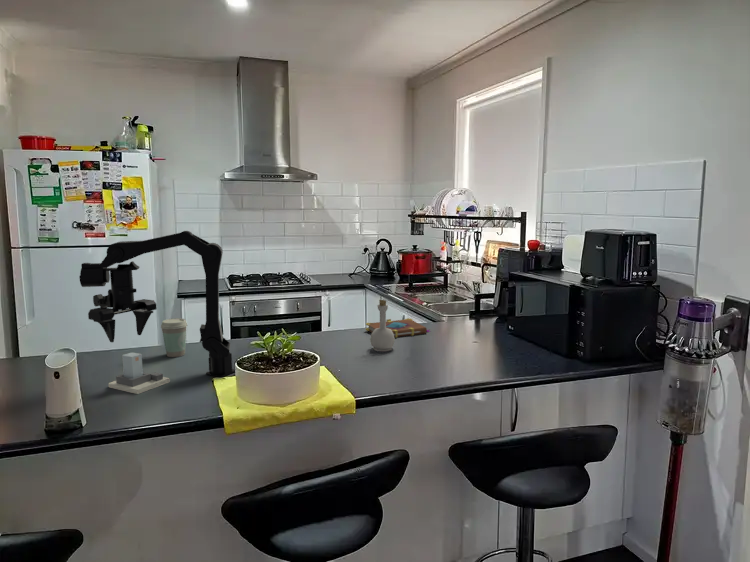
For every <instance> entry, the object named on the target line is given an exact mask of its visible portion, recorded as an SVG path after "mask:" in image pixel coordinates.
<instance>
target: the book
mask: <svg viewBox="0 0 750 562" xmlns="http://www.w3.org/2000/svg"><path fill="white" fill-rule="evenodd" d="M365 325H366V326H368V327H366V328H365V331H368V332H369V333H371V334H372V332H373V331H374V330H375V329H377V328H380V321H378V322H366V323H365ZM386 328H388V329H391V330H392V332H393V334H394V339H395V338H396V339H397V338H399V337H400V338H401V337H406V336H407V337H408V336H412V337H413V336H415V335H416V336H417V335H423V334H427V333H430V332H432V331H431V330H430V329H427V327H426V326H424V325H422V324H420V323H419V322H416V321H414V320H413V319H412V318H410V317H409V318H405V319H397V320H392V319H391V318H388V319H387V318H386Z"/></svg>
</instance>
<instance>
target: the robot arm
mask: <svg viewBox="0 0 750 562" xmlns="http://www.w3.org/2000/svg"><path fill="white" fill-rule="evenodd" d="M179 246H180V247H181V246H186V247H187V248H188V249H189V250H191V251H193V252H194V253H195V254H198V255H199V256H200V257H201V262H202V266H203V271H204V274H205V324H203V323H202V324H201V325H200V327H199V333H200V340H199V343H201V345H202V348H203V349H204V350H206V351H207V352H208V370H209V371H206V373H205V375H208V376H214V377H218V378H223V377H225V376H228V375H230V374H233V373H236V372H235V370H236V369H233V357H232V353H231V352H230V350H231V342H230V341H228V340H227V339H226V338H225V337H224V335H223V329H222V325H221V320H220V287H219V286H220V284H219V283H220V282H219V281H220V277H219V276H220V275H219V274H220V270H221V264H222V259H223V248H222V246H220V245H219V244H218V243H216V242H209V241H206V240H205V239H203V238H201V237H199V236H197V235H195V234H194V233H192V231H189V230H183V231H181V232H177V233H172V234H168V235H163V236H158V237H154V238H149V239H144V240H124V241H123V240H122V241H118V242H114V243H111V244H109V246H108V247H107V249H106V255H105V257H104V258H103V260H102V261H101V262H99V263H98V262H97V263H91V262H83V263H81V268H80V273H79V278H78V279H79V282H80V286H81V287H82V288H91V287H92V288H93V287H106V284H108V283H110V289H108V291H107V294H106V295H103V293H102V294H101V293H99V294H94V295H93V297H92V302H93V305H94V307H95V308H92V309H91V308H90V310H89V311H88V314H87V317H88V320H91V321H93V322H95V323H98V324H99V325H100V326H101V327H102V329H103V330H104V333H105V335H106V336H107V337H106V338H108V341H109V342H110V343H114V341H115V335H116V334H115V333H116V319H114V317H115V316H116V315H120V314H124V313H128V312H132V314H133V315H134V317H135V328H136V333H137V336H141V335H142V333H143V331H144V329H145V327H146V325H147V322H148V320H149V319H150V316H151V315H152V314H154V311H156V310H157V308H158V307H157V303H156V301H155V300H154V299H148V298H147V299H146V298H145V299H143V298H142V299H137V300H135V298H134V297H135V293H137V288H134V280H133V279H134V278H133V271H137V270H139V269H140V266H139V265H137V264H136V263H135V261H130V262H129V263H128V264H127V263H124V262H127V261H129V260H132V259H134V258H137V257H138V256H142V255H144V254H148V253H152V252H157V251H158V252H159V251H162V250H163V251H164V250H167V249H171V248H177V247H179ZM115 264H117V266H116V267H111V266H113V265H115Z"/></svg>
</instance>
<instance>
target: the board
mask: <svg viewBox="0 0 750 562" xmlns="http://www.w3.org/2000/svg"><path fill="white" fill-rule="evenodd" d="M115 379H116V380H113V381H111V382H108V388H111V389H115V390H119V391H123V392H127V393H131V394H135V395H139V394H143V393H145V392H147V391H151V390H153V389H155V388H158V387H161V386H162V385H166V384H169V383H170V382H171V379H170V377H166V376H164V374H163V373H160V372H152V373H147V372H144V371H143V376H140V377H137V378H134V379H132V378H127V377H124V373H122V374H120V375H116V376H115Z"/></svg>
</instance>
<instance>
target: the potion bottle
mask: <svg viewBox="0 0 750 562" xmlns="http://www.w3.org/2000/svg"><path fill="white" fill-rule="evenodd" d="M378 301H379V302H378V303H379V304H377V305H376V306H377V310H378V311H379V322H380V328H377V329H375V330H374V331H373V332H372V333H371V334H370V339H369V341H370V345H371V347H373V348H372V349H373V350H374V351H375V352H376V351H377V352H381V353H382V352H390V351H392V350H393V347H394V345H395V340H396V339H395V337H394V334H393V332H392V330H391V329H388V328H386V321H387V311H388V309H389V305H388V304H387V300H385V299H379V300H378Z"/></svg>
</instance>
